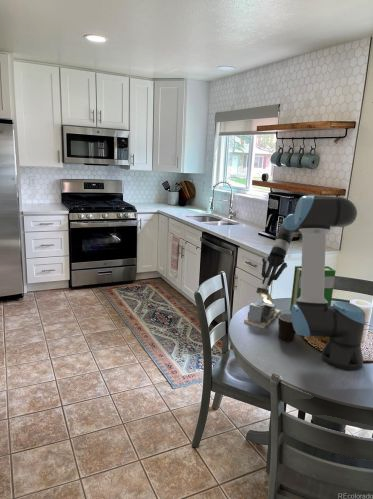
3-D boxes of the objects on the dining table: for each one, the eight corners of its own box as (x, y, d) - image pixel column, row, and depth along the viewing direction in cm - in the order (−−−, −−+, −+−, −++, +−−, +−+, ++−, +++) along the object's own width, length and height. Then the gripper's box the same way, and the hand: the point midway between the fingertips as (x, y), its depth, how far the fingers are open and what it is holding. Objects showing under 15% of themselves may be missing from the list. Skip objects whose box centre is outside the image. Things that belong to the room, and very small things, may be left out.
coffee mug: (291, 345, 162) (294, 323, 160) (272, 339, 167) (275, 317, 165) (302, 335, 171) (304, 315, 169) (283, 330, 176) (286, 309, 174)
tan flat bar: (273, 304, 191) (266, 294, 180) (263, 302, 193) (256, 291, 182) (274, 300, 191) (267, 289, 180) (265, 297, 194) (257, 287, 183)
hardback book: (295, 316, 192) (300, 270, 186) (290, 310, 199) (295, 265, 193) (329, 316, 193) (335, 270, 187) (322, 310, 200) (328, 266, 194)
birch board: (263, 328, 177) (264, 325, 177) (243, 322, 182) (244, 319, 182) (280, 312, 195) (280, 310, 195) (262, 308, 200) (262, 305, 200)
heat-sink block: (263, 324, 177) (265, 308, 175) (245, 319, 182) (246, 303, 180) (278, 311, 193) (279, 296, 191) (261, 307, 198) (262, 292, 196)
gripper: (293, 256, 193) (278, 297, 184) (268, 251, 200) (253, 291, 191) (290, 248, 188) (275, 290, 179) (265, 244, 195) (249, 284, 185)
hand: (263, 290), depth 185 cm, fingers closed
